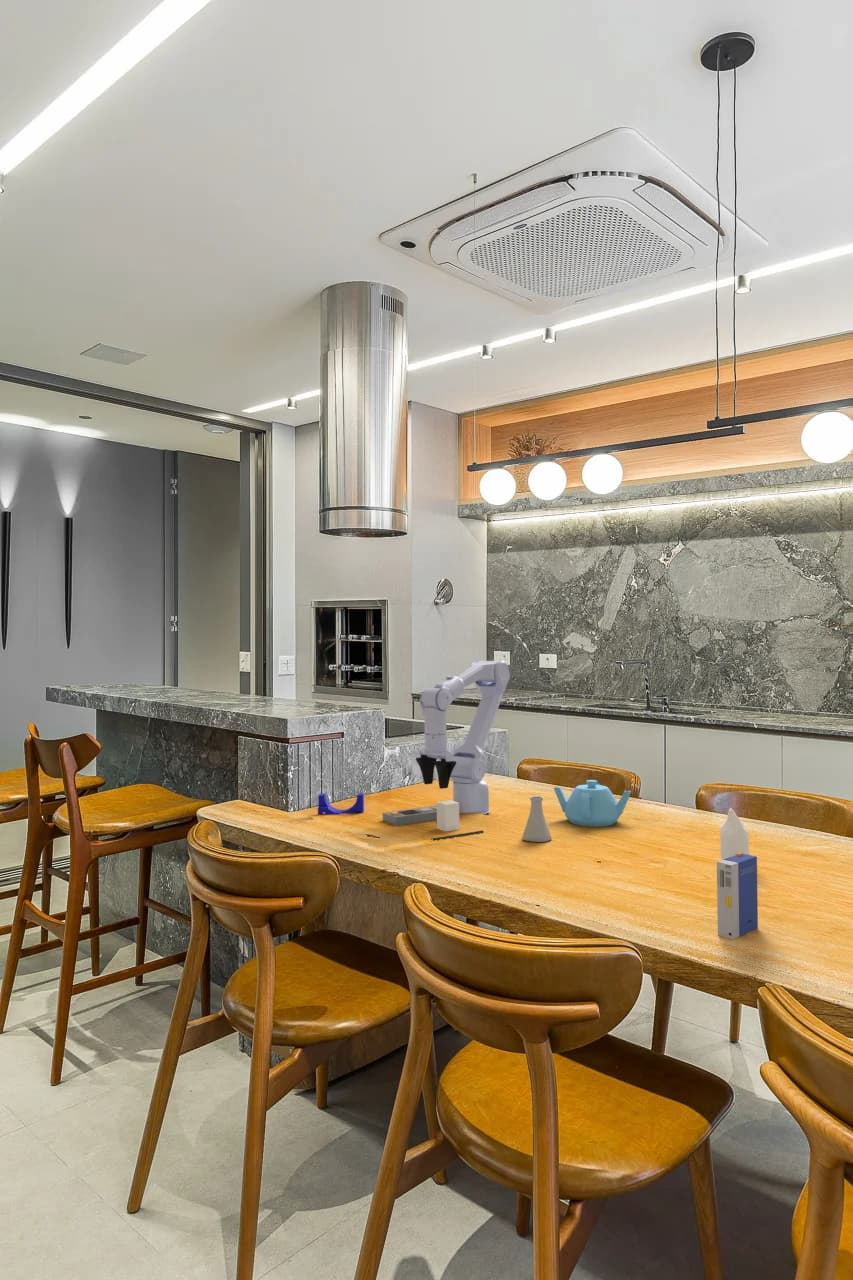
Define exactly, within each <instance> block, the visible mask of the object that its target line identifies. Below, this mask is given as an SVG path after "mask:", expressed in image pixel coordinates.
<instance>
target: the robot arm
mask: <svg viewBox="0 0 853 1280" xmlns="http://www.w3.org/2000/svg"><path fill="white" fill-rule="evenodd" d="M509 669H510V668H509V665H508V663H507V662H506V661H505V660H502V659H501V660H479V659H478V660H475V661H473V662H472V663H470V665H469V667H468V668H467V669H466V670H464V671H463V672H461V673H460V674H459V675H458V676H457V675H446V676H445V679H444V680H443V681H441V682H437V683H436V684H435V686H433V687H427V688H425V689H424V690H423V691H422V692H421V694H420V698H419V700H418V701H419V705H420V707H421V709H422V715H423V716H424V747H419V748H418V752H417V753H418V756H419V757H416V758H415V762H417V764H418V767H419V769H420V772H421V775H422V780H423V783H424V785H433V782H434V773H435V769H436V772H437V778H438V779H437V780H438V787H439V789H442V790H443V789H447V788H449V783H450V781H451V782H452V801H455V802H458V803H459V814H475V813H477V814H481V815H488V814H487V813H490V814H491V811H490V805H489V804H490V797H489V795H490V792H489V787H488V783H487V782H486V781H485V780H484V779H483V778H484V777H485V774H486V766H487V762H488V757H487V756H486V754H485V753H484V752H483V749H484V748H485V744H486V742H487V739H488V737H489V733H490V732H491V728H492V725H493V723H494V720H495V718H496V715H497V712H498V710H499V706H500V704H501V702H502V698H503V695H504V693H505V691H506V689H507V685H508V683H509V681H510V678H511V674H510V670H509ZM472 684H474V685H475V688H476V690H477V692H478V693H479V694H481V699H480V701H479V704H478V706H477V709H476V712H475V714H474V717H473V720H472V723H471V724H470V727H469V729H468V731H467V732H468V733H467V735H466V737H465V740H464V743H463V744H461V745H460V746H458V747H456V748H455V749H454V750H453V752H450V751H448V750H447V747H448V746H447V743H448V742H447V710H448V709H449V708H450V707H451V704H452V702H453V701H454V700H455V699H457V698H459V697H460V696H461V695H463V694H464V692H465V690H466V689H465V688H466V687H468V686H470V685H472Z"/></svg>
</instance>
